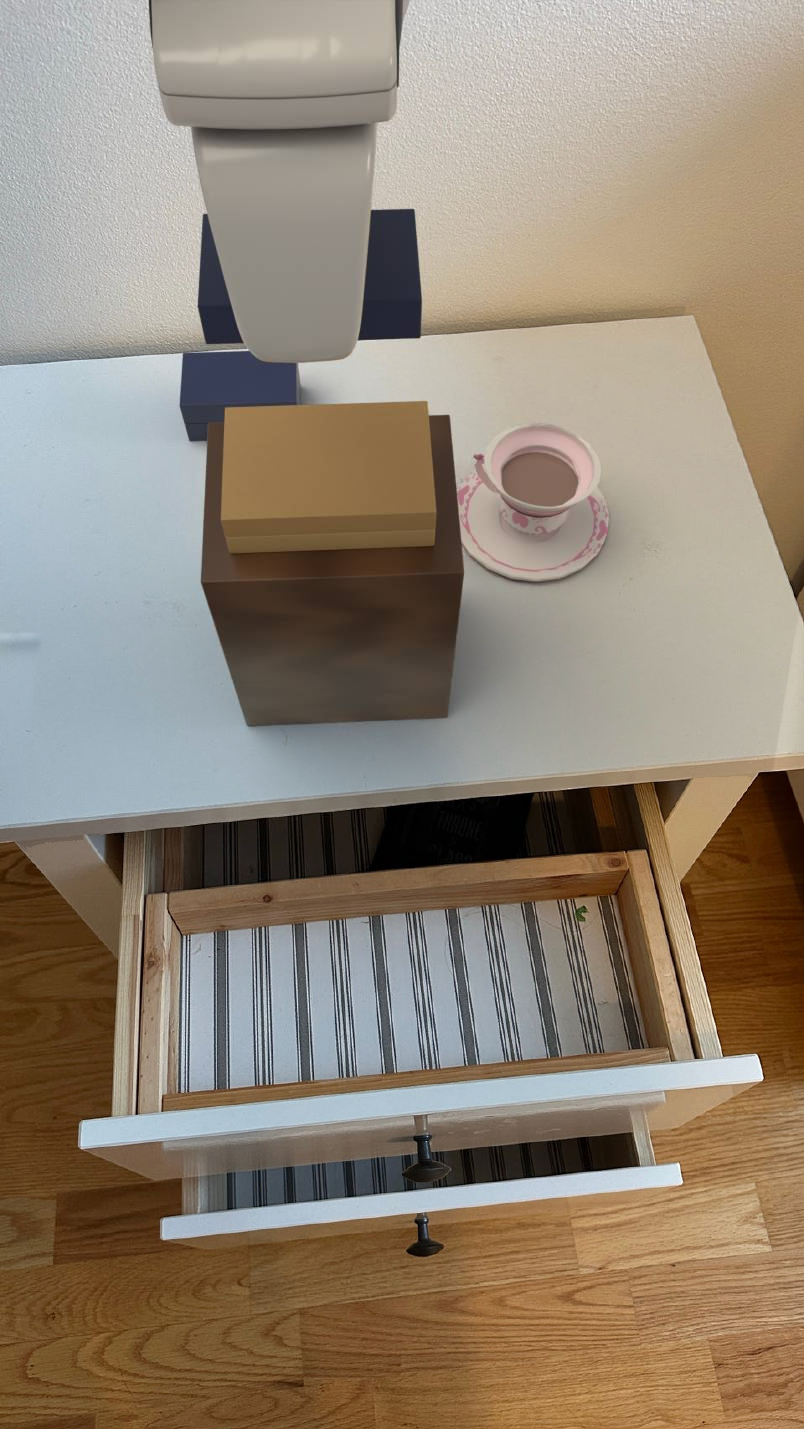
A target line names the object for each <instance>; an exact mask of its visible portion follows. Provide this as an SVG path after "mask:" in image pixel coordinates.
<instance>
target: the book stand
mask: <svg viewBox="0 0 804 1429" xmlns="http://www.w3.org/2000/svg"><path fill="white" fill-rule="evenodd" d="M429 426H430V438H431V451H432V463H433V476H434V488H435V500H436V527H435V542H434V546H420V547H393V548H366V549H339V550H313V551H286V552H259V553H232V554H231V553H230V552H229V549H228V545H227V541H226V537H225V534H224V530H223V526H222V522H221V502H222V474H223V447H224V422H216V423H208V433H207V440H206V454H205V455H206V460H205V477H204V478H205V480H204V498H203V499H204V500H203V501H204V502H203V522H202V523H203V525H202V527H203V528H202V544H201V567H200V569H201V570H200V585H201V588H202V592H203V594H204V598H205V600H206V603H207V607H208V610H209V613H210V615H211V619H212V622H213V625H214V628H215V631H216V634H217V638H218V640H219V644H220V647H221V650H222V654H223V656H224V659H225V663H226V665H227V669H228V672H229V675H230V678H231V682H232V685H233V688H234V690H235V693H236V696H237V700H238V703H239V706H240V710H241V712H242V715H243V719H244V721H245V725H246V726H247V727H255V726H256V727H257V726H260V727H261V726H281V725H282V726H283V725H302V724H303V725H305V724H325V723H326V724H328V723H348V722H349V723H350V722H351V723H353V722H374V721H375V722H376V721H377V722H378V721H398V720H401V721H402V720H421V719H445V718H447V719H448V717H449V711H450V710H449V709H450V700H451V694H452V692H451V691H452V686H453V685H452V684H453V676H454V666H455V658H456V649H457V640H458V633H459V632H458V631H459V624H460V616H461V615H460V614H461V606H462V605H461V604H462V596H463V587H464V578H465V563H464V554H463V553H464V552H463V544H462V541H461V530H460V520H459V509H458V498H457V493H458V488H457V477H456V468H455V456H454V446H453V434H452V424H451V416H450V414H429Z"/></svg>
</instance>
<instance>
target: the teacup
mask: <svg viewBox="0 0 804 1429" xmlns="http://www.w3.org/2000/svg"><path fill="white" fill-rule="evenodd" d="M473 458H474V459H475V460H476V462H475V464H474V469H475V470H474V471H472V472H471V473H470V474H469V475H467V476H466V477H465V479H464V481H463V482H462V484H461V486H460V488H459V489H458V490H457V498H458V509H459V520H460V530H461V541H462V546H463V547H464V549H465V550H466V551H467V554H469V556H471V557H472V558H473V559H474V560H475V561H477V562H478V563H479V564H480V565H481V566H483V567H484V568H486V569H487V570H488V571H490V572H493V573H496V574H499V575H500V576H503V577H505V578H508V579H511V580H517V581H526V582H531V583H532V582H533V583H540V582H546V581H554V580H560V579H564V578H566V577H568V576H569V575H572V574H574V573H576V572H579V571H580V570H583V569H584V568H585V567H587V565H588V564H589V563H590V562H591V561H593V559H595V557H597V556H598V555H599V553H600V552H601V549H602V547H603V545H604V543H605V541H606V539H607V537H608V534H609V522H610V513H609V509H608V505H607V504H606V499H605V497H604V494H603V493H602V491H601V490H600V489H599V487H598V485H599V484H600V481H601V477H602V464H601V460H600V458H599V455H598V453H597V451H596V450H595V448H593V446H592V445H591V444H590V443H589V442H588V441H587V440H586V439H584V438H583V437H581V436H580V435H579V434H577V433H575V432H573V431H571V430H570V429H567V428H564V427H562V426H558V425H555V424H549V423H543V422H542V423H539V422H532V423H521V424H516V425H514V426H511V427H508V428H506V429H504V430H502V431H501V432H499V433H498V434H497V435H495V436H494V437H493V438H492V439H491V440H490V441H489V443H488V444H487V447H486V448H485V453H484V455H483V454H482V453H479V454H477V453H474V454H473Z"/></svg>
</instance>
